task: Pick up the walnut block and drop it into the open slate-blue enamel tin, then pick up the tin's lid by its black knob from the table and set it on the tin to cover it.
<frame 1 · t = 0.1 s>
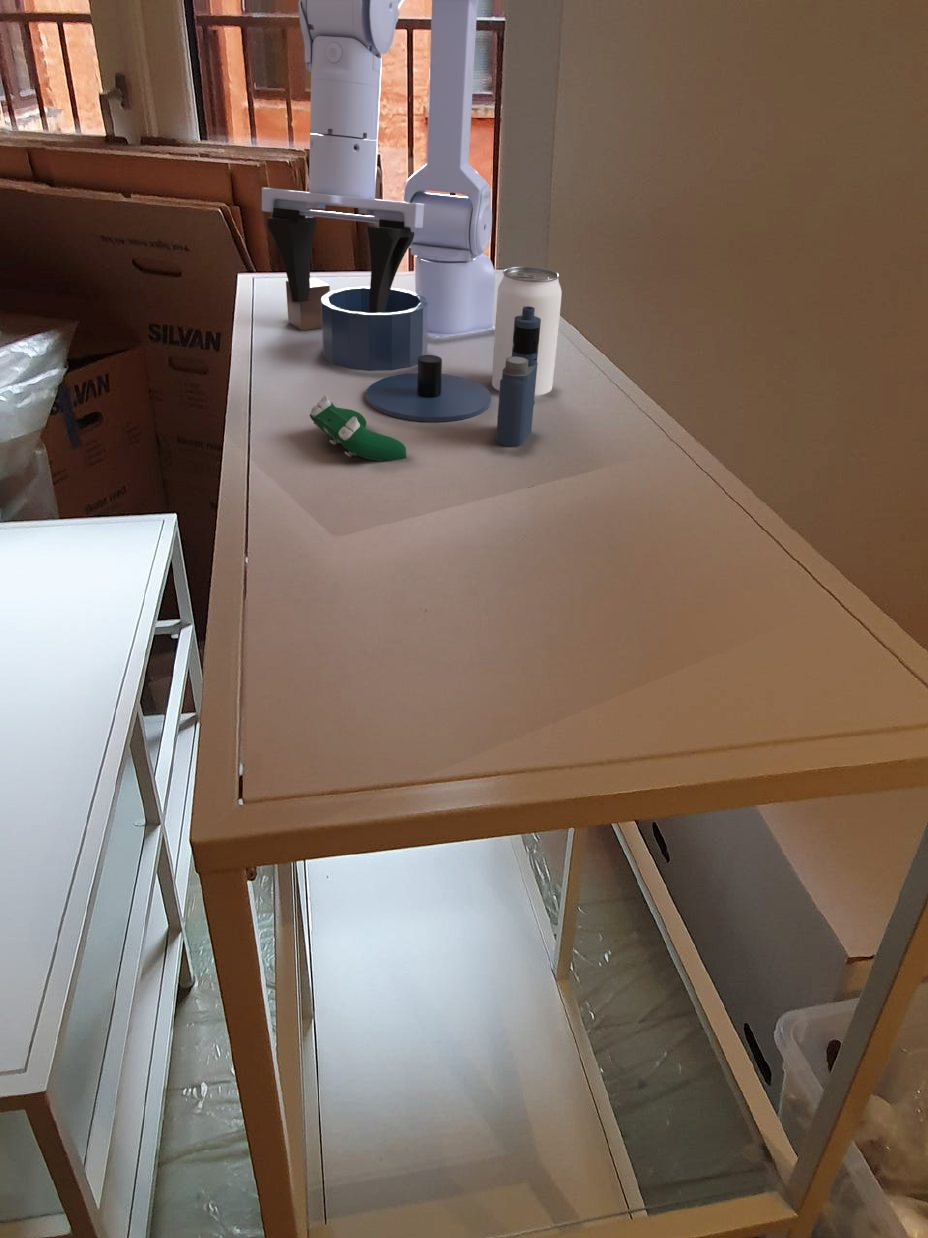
hand: (338, 306, 83), 11 cm above the table, tool pointing down, fingers open, 7 cm apart
tin: (374, 358, 104), on the table
lid: (428, 398, 92), point 1 cm above the table
can: (521, 391, 97), on the table
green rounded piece: (356, 453, 82), on the table
vaping device: (513, 444, 86), on the table
block: (309, 324, 114), on the table
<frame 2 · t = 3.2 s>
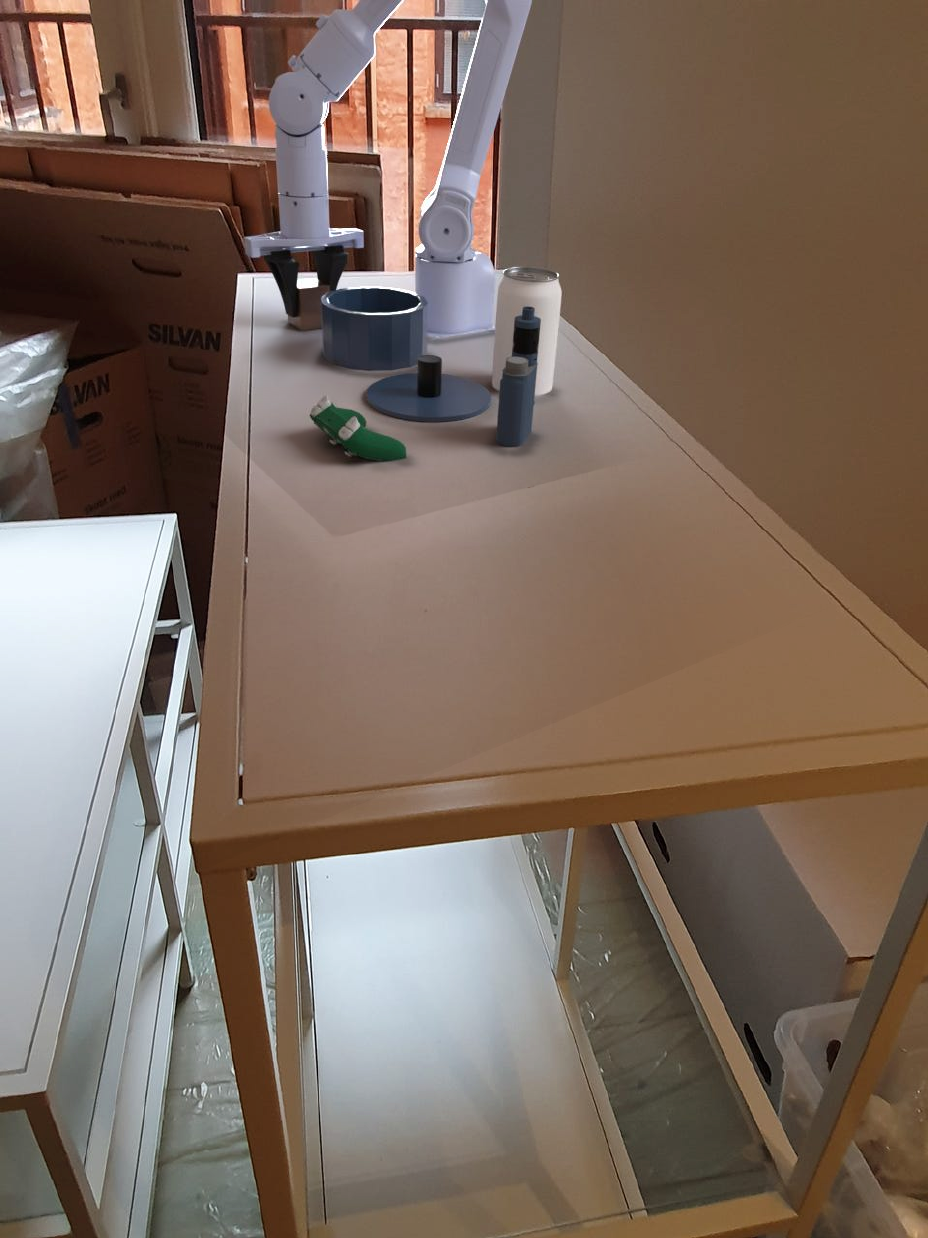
hand: (309, 312, 113), 1 cm above the table, tool pointing down, fingers closed on block, 4 cm apart
block: (309, 324, 114), on the table, touching gripper
everything else where it was.
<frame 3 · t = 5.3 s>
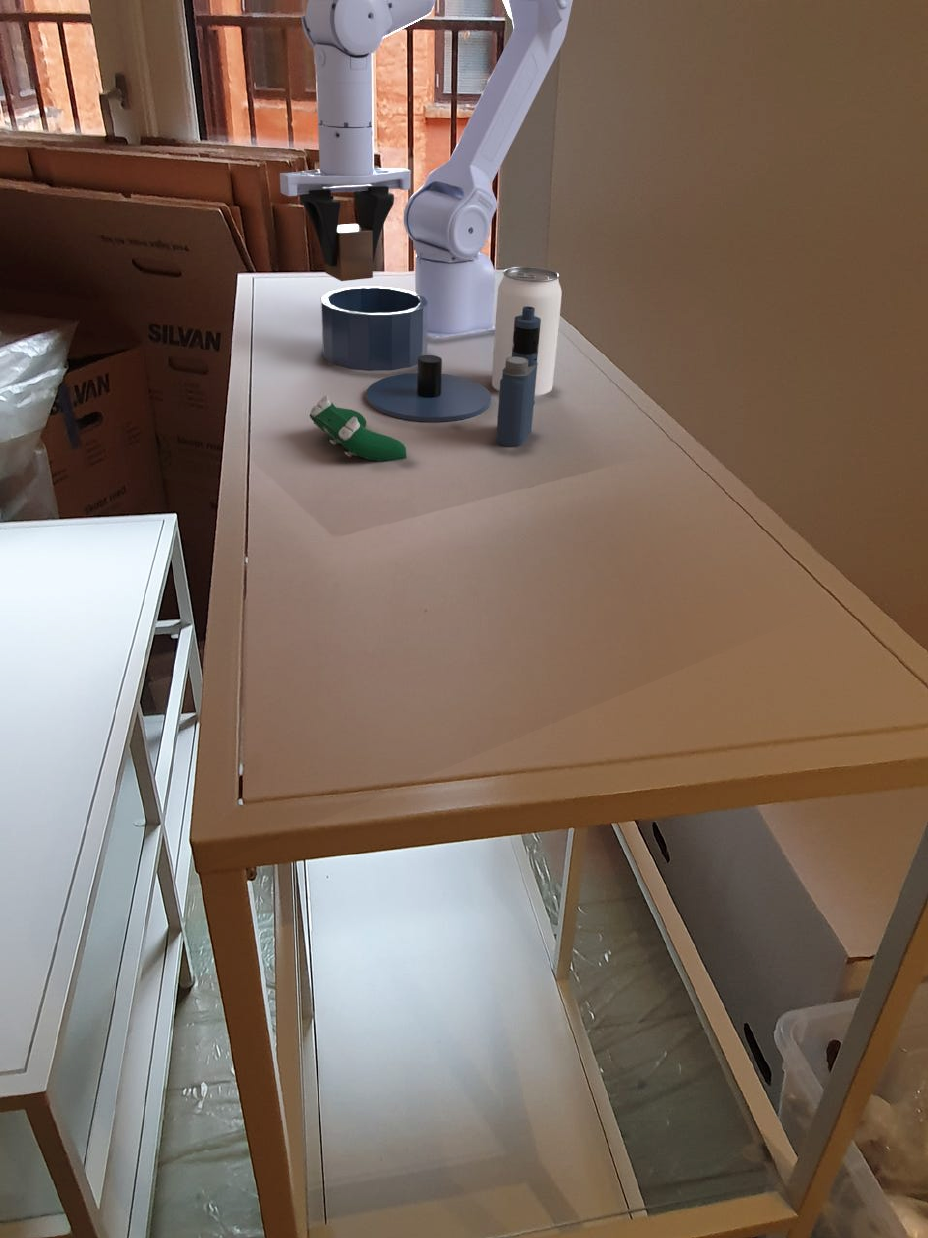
hand: (349, 262, 102), 9 cm above the table, tool pointing down, fingers closed on block, 4 cm apart
block: (349, 275, 103), point 8 cm above the table, touching gripper
everything else where it was.
when the fingers open (4 cm above the table, at t = 7.7 s): block drops 2 cm, resting on tin.
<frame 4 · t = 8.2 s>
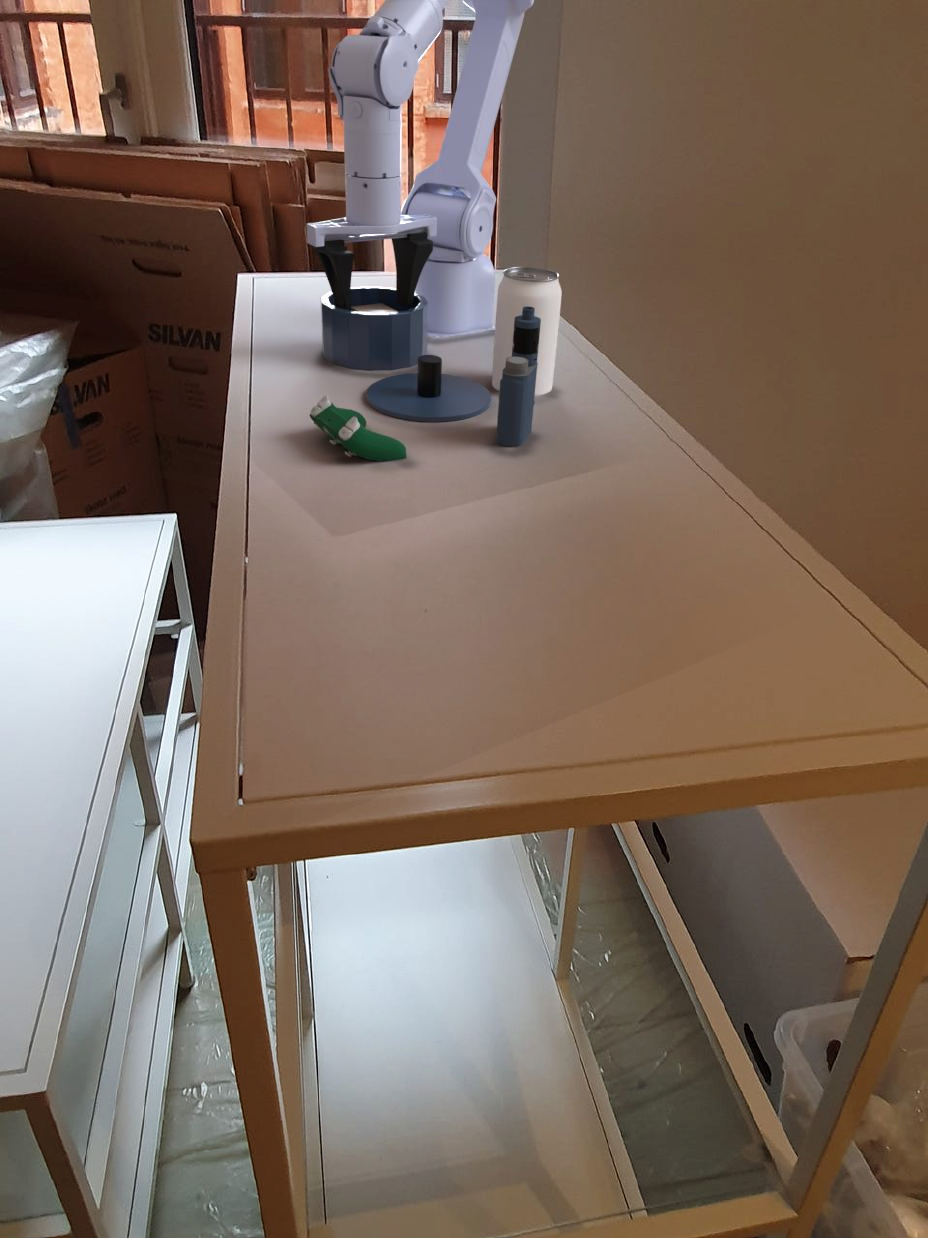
hand: (374, 309, 101), 5 cm above the table, tool pointing down, fingers open, 7 cm apart
block: (375, 353, 104), resting on tin
everything else where it was.
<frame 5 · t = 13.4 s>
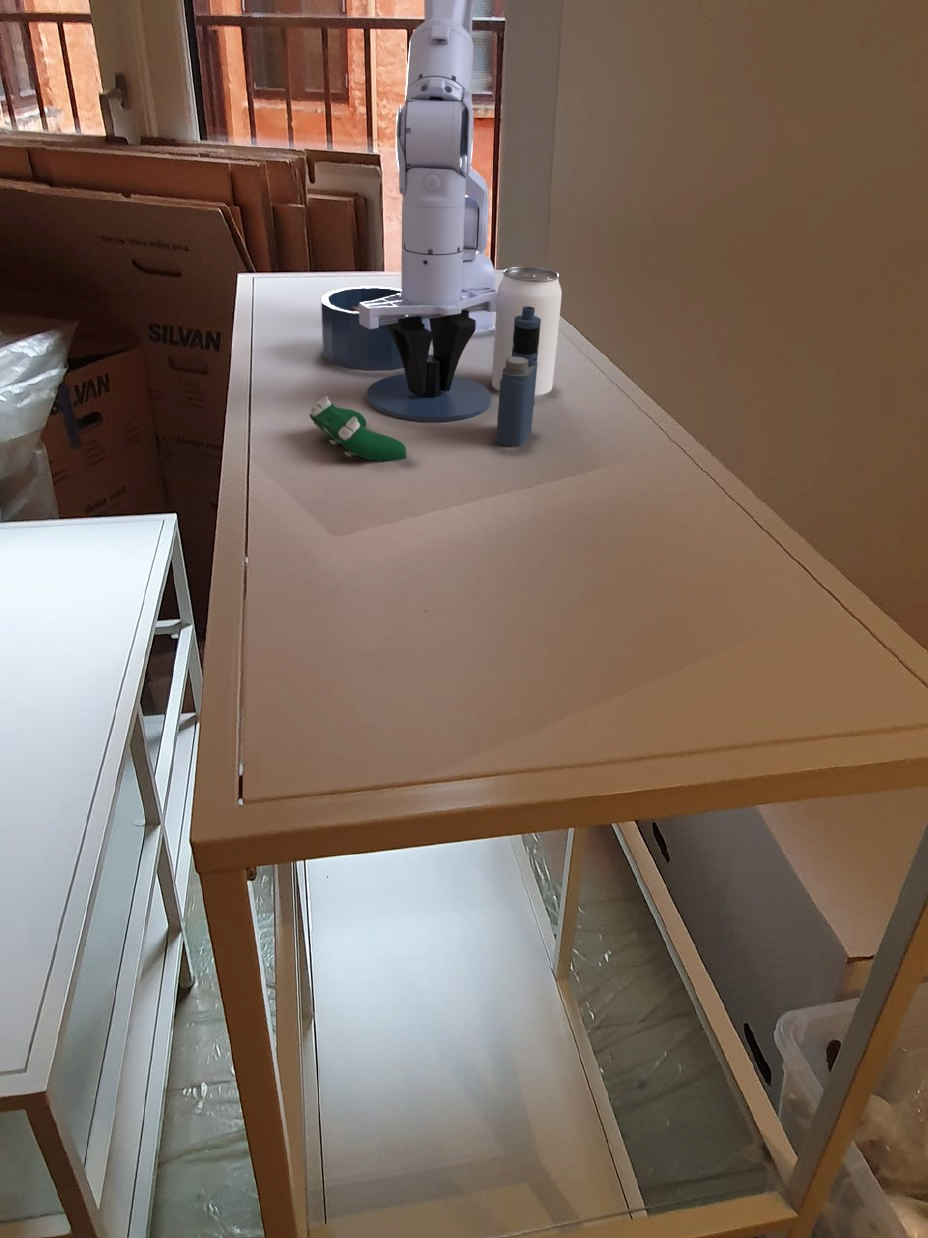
hand: (429, 390, 92), 1 cm above the table, tool pointing down, fingers closed on lid, 2 cm apart
lid: (429, 398, 92), point 1 cm above the table, touching gripper
everything else where it was.
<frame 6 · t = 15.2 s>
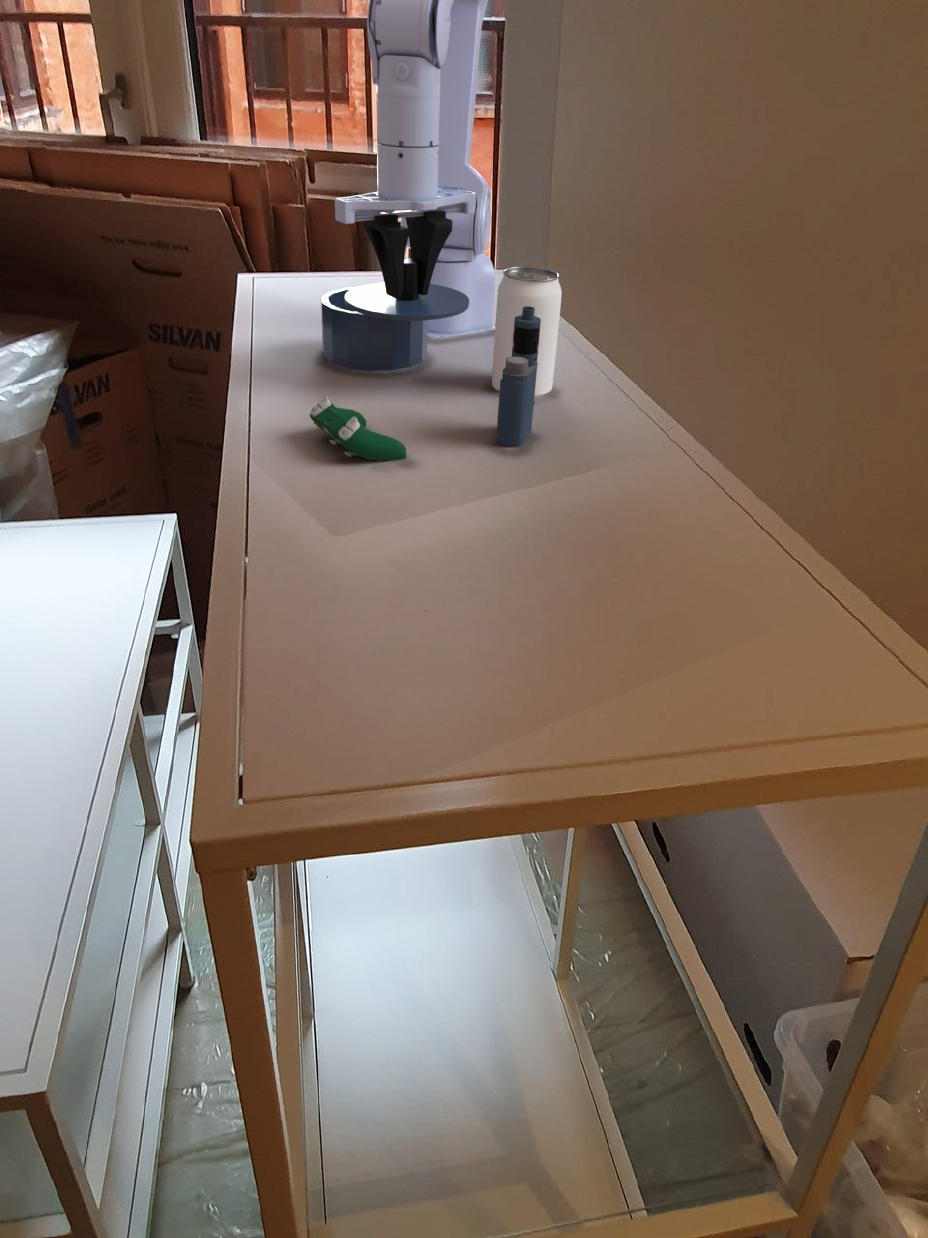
hand: (406, 294, 92), 9 cm above the table, tool pointing down, fingers closed on lid, 2 cm apart
lid: (407, 302, 92), point 9 cm above the table, touching gripper
everything else where it was.
when the fingers open (7 cm above the table, at t = 17.1 s): lid stays where it is, resting on tin.
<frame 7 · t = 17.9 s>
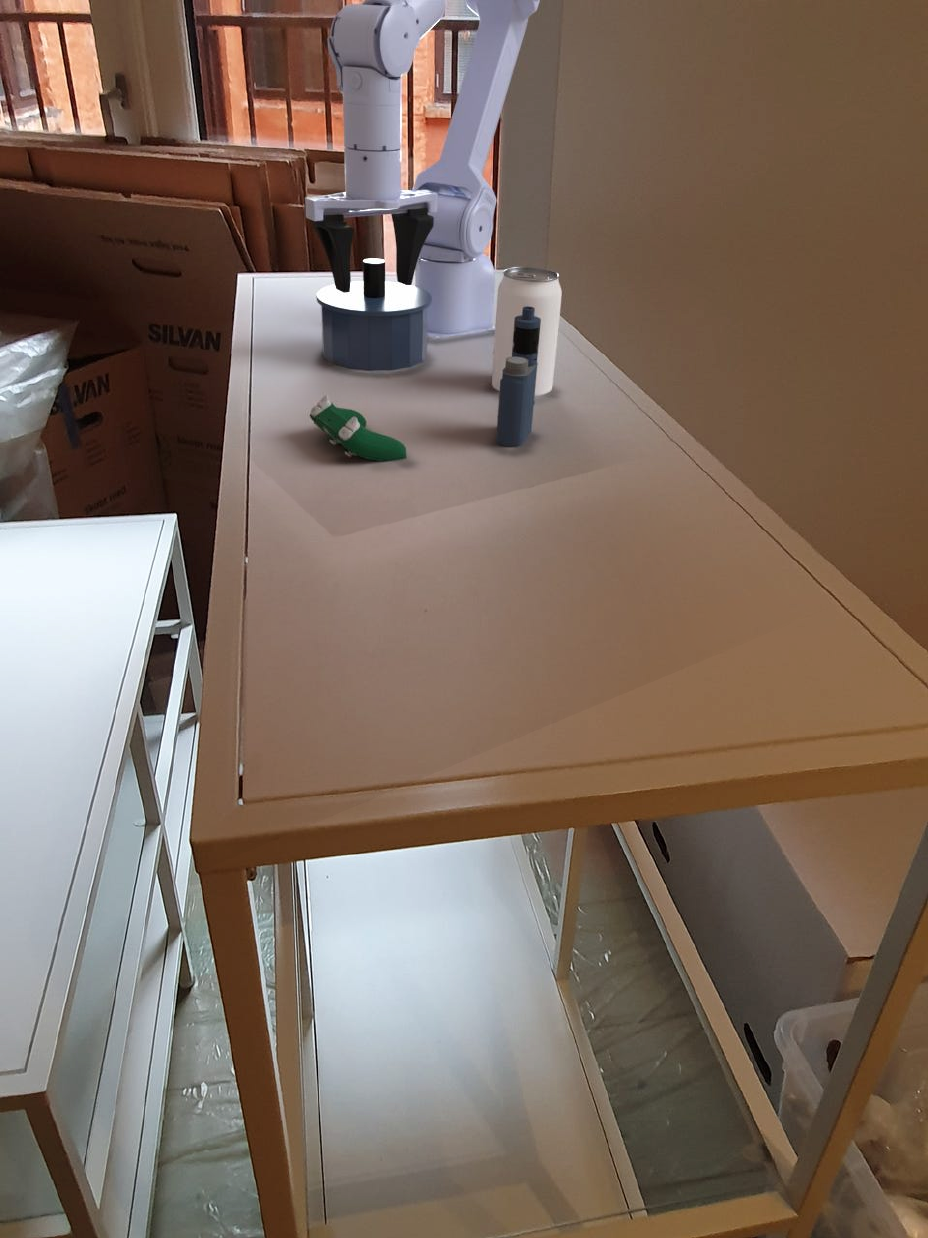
hand: (374, 286, 99), 8 cm above the table, tool pointing down, fingers open, 7 cm apart
lid: (374, 299, 100), point 6 cm above the table, touching tin
everything else where it was.
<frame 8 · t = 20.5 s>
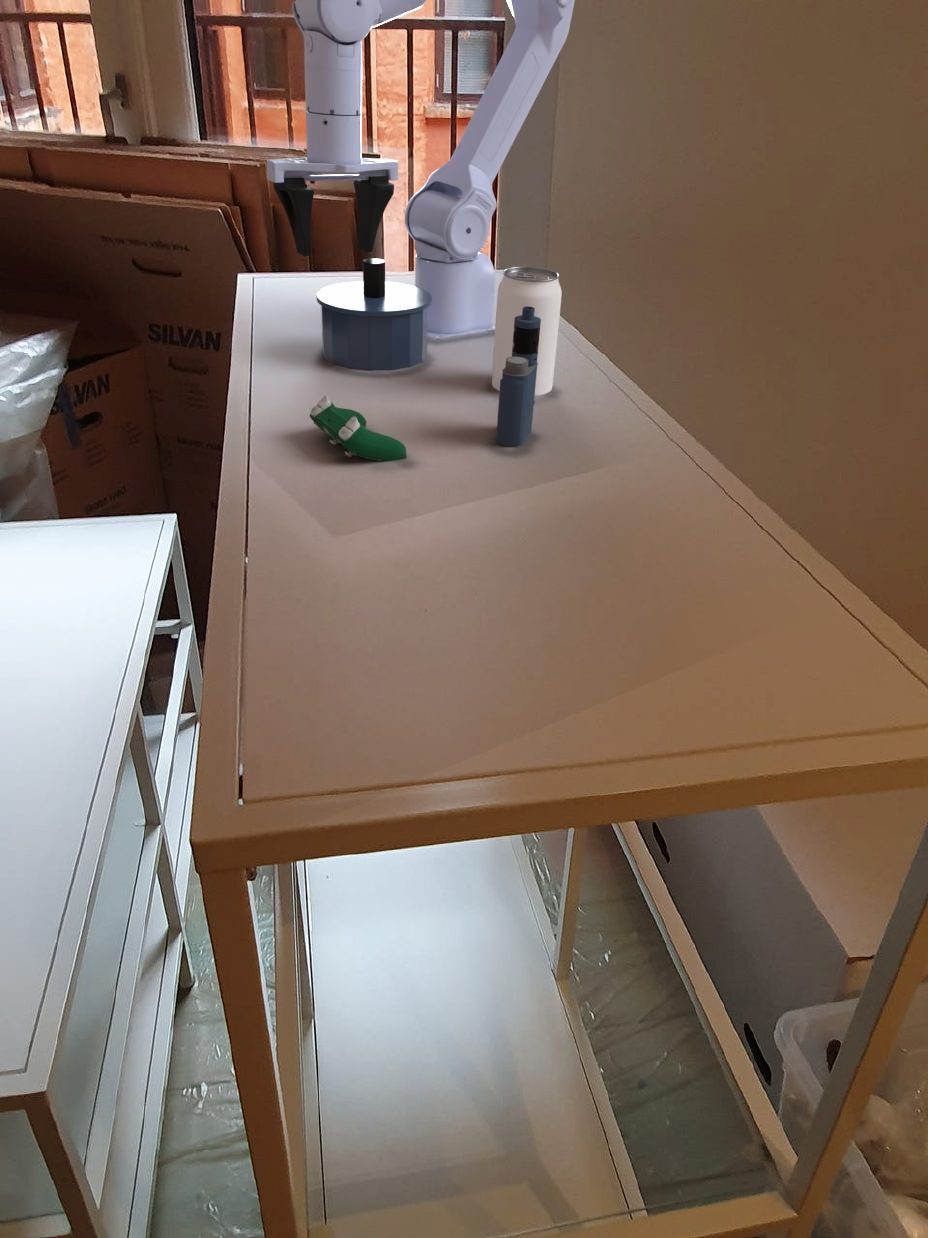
hand: (335, 252, 101), 10 cm above the table, tool pointing down, fingers open, 7 cm apart
nothing on the table moved.
at the end: block inside the target area in the tin (0.0 cm from its centre), point 0.5 cm above the tin's base; lid 0.0 cm off-centre on the tin, point 6.5 cm above the tin's base; lid tilted 0° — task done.
